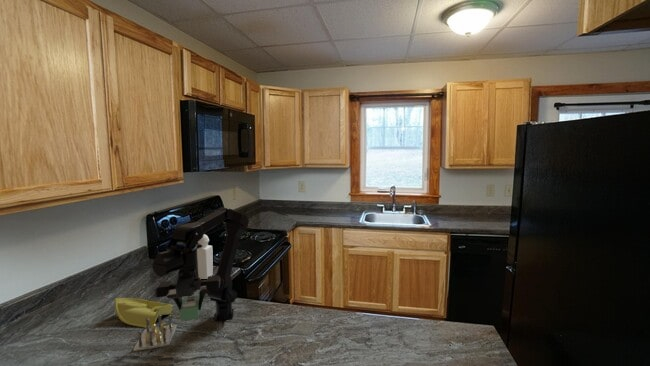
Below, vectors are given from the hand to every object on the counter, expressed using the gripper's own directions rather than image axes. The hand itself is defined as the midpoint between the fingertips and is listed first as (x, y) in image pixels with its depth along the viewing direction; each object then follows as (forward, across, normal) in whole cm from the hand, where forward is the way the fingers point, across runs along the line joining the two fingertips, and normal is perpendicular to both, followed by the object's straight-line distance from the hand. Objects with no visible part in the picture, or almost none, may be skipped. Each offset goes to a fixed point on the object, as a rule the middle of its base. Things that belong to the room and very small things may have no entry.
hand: (191, 310), depth 95 cm
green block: (+1, 0, 0) cm, 1 cm away
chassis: (+10, -12, +4) cm, 16 cm away
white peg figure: (+10, -3, +52) cm, 53 cm away
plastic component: (+10, -21, +21) cm, 31 cm away
